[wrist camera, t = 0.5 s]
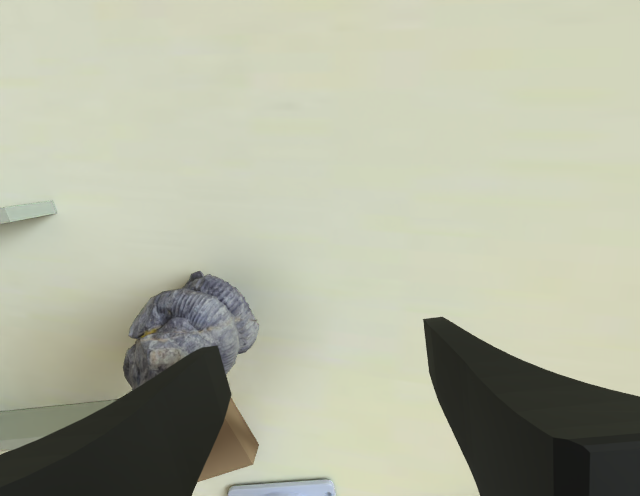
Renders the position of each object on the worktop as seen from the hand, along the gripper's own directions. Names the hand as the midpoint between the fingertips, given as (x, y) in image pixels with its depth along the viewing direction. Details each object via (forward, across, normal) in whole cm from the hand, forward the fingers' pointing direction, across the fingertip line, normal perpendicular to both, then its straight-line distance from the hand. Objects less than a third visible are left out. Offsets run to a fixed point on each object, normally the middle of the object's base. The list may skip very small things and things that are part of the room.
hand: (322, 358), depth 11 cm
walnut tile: (+10, +10, +10) cm, 18 cm away
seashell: (+10, +6, +1) cm, 12 cm away
